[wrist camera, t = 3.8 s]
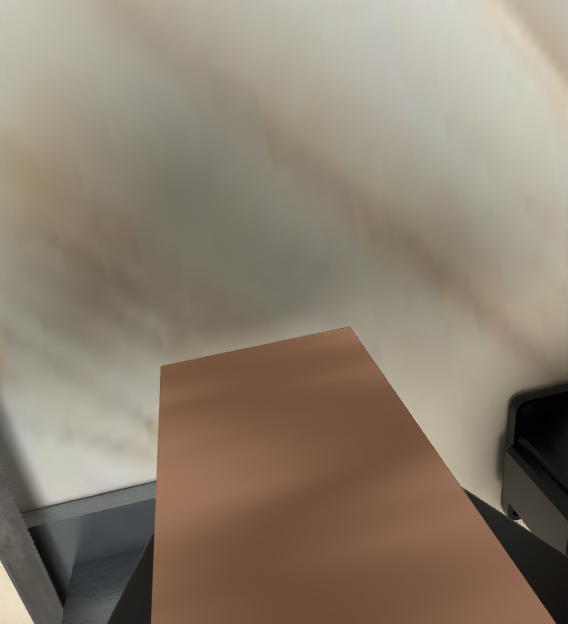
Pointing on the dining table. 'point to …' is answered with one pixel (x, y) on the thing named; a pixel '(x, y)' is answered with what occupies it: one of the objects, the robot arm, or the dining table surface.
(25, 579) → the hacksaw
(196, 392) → the pin
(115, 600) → the socket block
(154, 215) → the dining table surface
